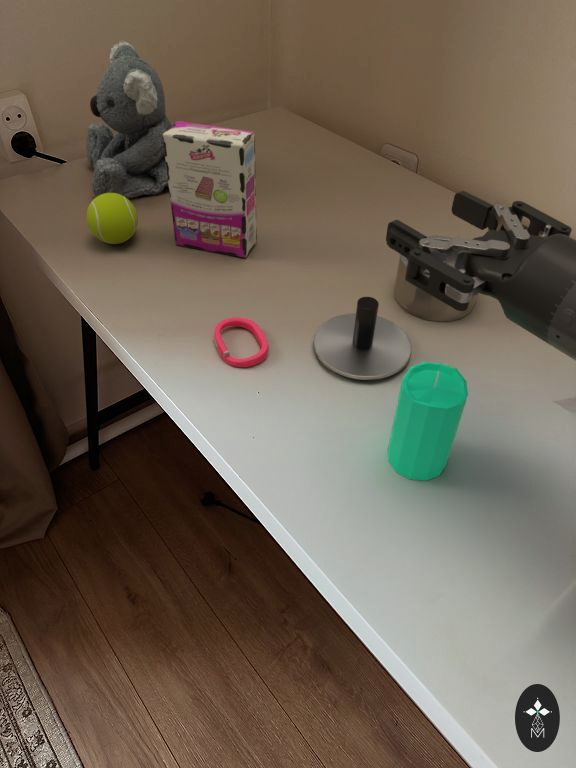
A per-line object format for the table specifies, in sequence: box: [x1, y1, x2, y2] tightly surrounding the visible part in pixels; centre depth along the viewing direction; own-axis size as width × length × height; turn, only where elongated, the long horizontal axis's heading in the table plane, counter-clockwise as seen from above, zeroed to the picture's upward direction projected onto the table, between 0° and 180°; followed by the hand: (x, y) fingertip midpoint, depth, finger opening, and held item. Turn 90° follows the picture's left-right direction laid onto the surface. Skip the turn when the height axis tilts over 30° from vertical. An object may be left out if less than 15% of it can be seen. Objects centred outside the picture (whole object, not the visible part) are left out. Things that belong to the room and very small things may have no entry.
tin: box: [393, 235, 479, 322], centre depth 82 cm, size 11×11×6 cm
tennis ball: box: [86, 193, 139, 245], centre depth 90 cm, size 7×7×7 cm
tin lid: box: [313, 296, 412, 381], centre depth 74 cm, size 12×12×7 cm
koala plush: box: [85, 39, 174, 200], centre depth 100 cm, size 17×18×20 cm
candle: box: [387, 361, 469, 482], centre depth 61 cm, size 6×6×12 cm
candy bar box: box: [163, 120, 258, 258], centre depth 87 cm, size 11×5×16 cm, turn 73°
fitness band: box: [212, 316, 269, 368], centre depth 76 cm, size 8×6×2 cm
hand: (423, 215), depth 56 cm, fingers open, 8 cm apart
